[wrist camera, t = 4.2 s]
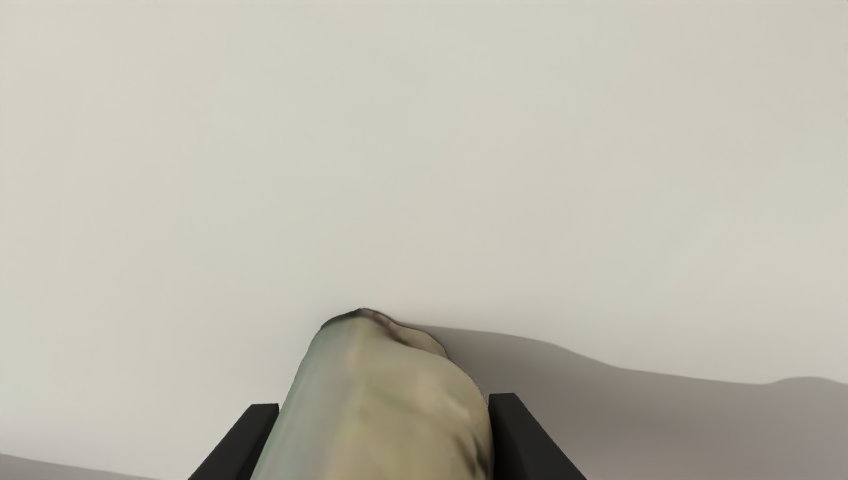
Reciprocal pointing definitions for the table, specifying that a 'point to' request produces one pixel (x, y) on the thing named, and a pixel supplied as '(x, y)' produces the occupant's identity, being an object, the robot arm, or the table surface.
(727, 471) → the table surface
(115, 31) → the table surface
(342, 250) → the table surface
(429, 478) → the pale green rounded block
